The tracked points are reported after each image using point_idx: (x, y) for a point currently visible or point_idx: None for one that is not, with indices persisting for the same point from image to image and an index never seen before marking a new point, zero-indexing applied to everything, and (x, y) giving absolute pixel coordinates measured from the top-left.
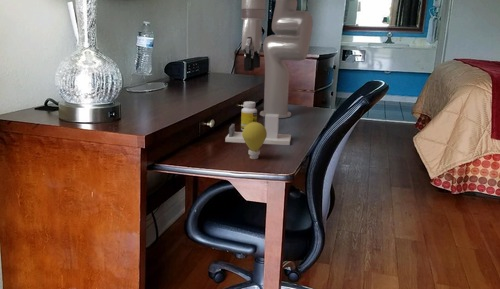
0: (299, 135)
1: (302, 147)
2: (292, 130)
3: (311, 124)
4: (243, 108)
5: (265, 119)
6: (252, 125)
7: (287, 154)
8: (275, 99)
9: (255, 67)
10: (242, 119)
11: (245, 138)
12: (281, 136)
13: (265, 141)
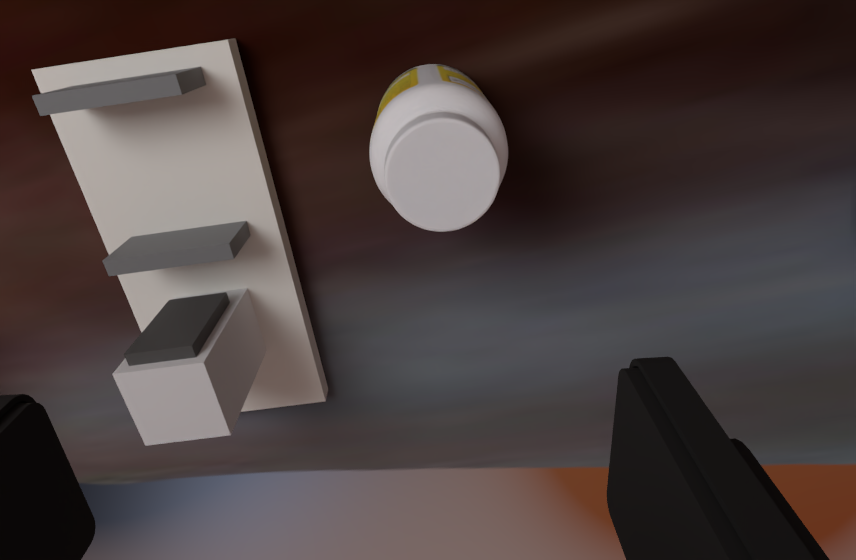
0: (409, 413)
1: (181, 458)
2: (515, 364)
3: None
4: (415, 110)
5: (124, 363)
6: None
7: None
8: None
9: (619, 443)
10: (386, 97)
11: None
12: (260, 367)
13: (137, 309)
